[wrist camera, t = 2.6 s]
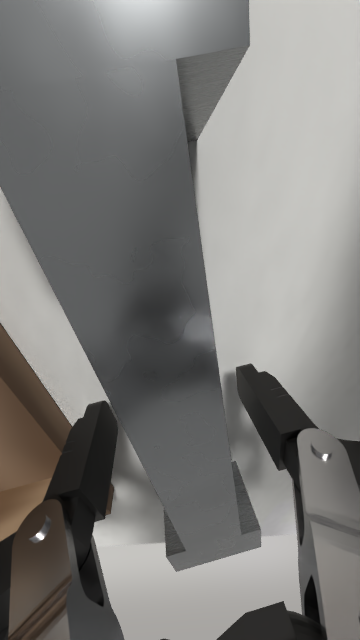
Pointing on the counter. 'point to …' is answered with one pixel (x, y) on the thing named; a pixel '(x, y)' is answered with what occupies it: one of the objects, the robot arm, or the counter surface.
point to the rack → (26, 438)
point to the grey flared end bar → (131, 226)
